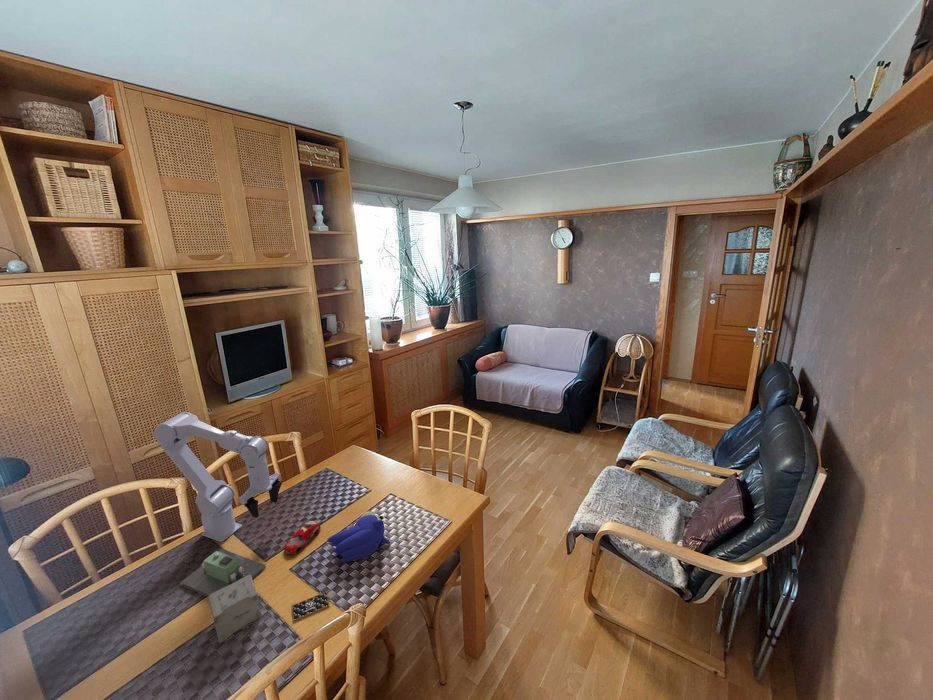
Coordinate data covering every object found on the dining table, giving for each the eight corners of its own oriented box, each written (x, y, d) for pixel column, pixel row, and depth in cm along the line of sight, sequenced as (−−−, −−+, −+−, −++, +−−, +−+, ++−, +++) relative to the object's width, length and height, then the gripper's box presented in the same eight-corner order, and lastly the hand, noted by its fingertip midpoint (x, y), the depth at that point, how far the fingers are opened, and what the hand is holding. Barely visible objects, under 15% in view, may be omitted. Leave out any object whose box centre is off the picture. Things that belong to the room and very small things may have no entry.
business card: (293, 620, 96) (291, 604, 100) (293, 623, 96) (292, 608, 100) (329, 604, 100) (326, 590, 104) (329, 608, 100) (327, 593, 104)
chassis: (181, 585, 107) (178, 574, 105) (223, 551, 118) (220, 541, 117) (225, 604, 101) (223, 593, 100) (265, 567, 112) (263, 556, 111)
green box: (206, 574, 109) (202, 558, 107) (219, 563, 112) (215, 548, 111) (228, 583, 106) (225, 567, 104) (241, 572, 109) (237, 556, 108)
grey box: (219, 648, 90) (211, 615, 87) (214, 623, 96) (206, 591, 93) (264, 622, 96) (257, 590, 93) (256, 600, 102) (250, 570, 99)
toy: (362, 520, 131) (398, 531, 125) (330, 562, 117) (368, 576, 111) (356, 498, 127) (392, 508, 121) (322, 539, 113) (361, 552, 107)
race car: (293, 558, 116) (291, 548, 115) (280, 553, 118) (278, 543, 117) (323, 529, 128) (322, 520, 126) (311, 525, 130) (310, 516, 128)
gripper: (248, 489, 112) (255, 526, 116) (285, 464, 126) (290, 498, 129) (231, 484, 115) (239, 521, 118) (269, 460, 128) (275, 493, 131)
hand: (265, 508), depth 124 cm, fingers open, 7 cm apart
